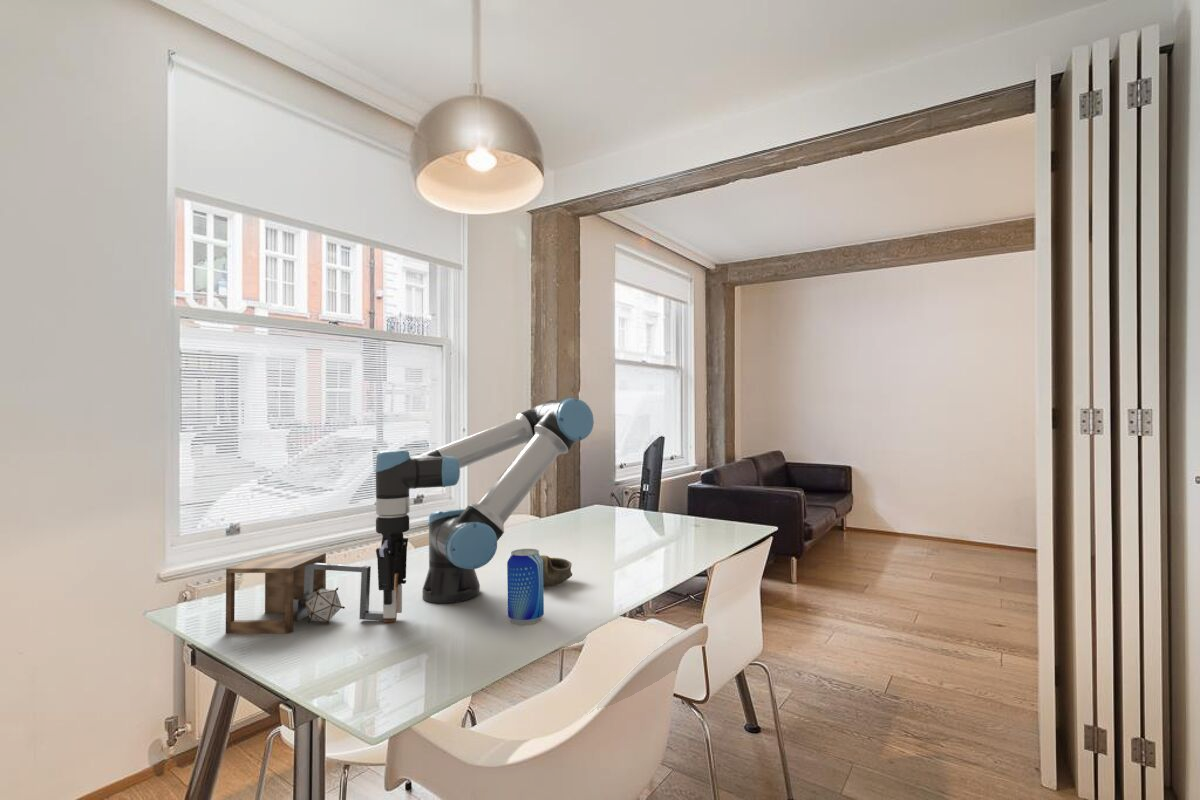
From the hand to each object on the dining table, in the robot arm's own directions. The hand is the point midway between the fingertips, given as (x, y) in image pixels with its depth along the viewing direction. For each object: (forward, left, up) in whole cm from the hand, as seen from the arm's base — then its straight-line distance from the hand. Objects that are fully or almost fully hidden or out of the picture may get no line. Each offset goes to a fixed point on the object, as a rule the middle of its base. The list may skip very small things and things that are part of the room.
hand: (392, 614), depth 137 cm
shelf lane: (+28, 0, -2) cm, 28 cm away
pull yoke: (+11, -1, -1) cm, 11 cm away
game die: (+17, +1, -2) cm, 17 cm away
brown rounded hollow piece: (-33, -30, -2) cm, 44 cm away
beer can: (-32, -1, -2) cm, 32 cm away
